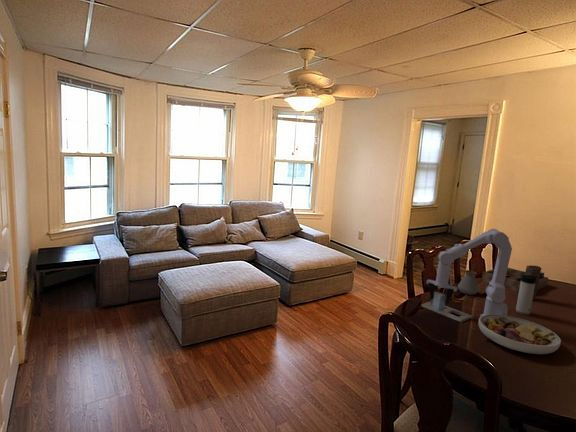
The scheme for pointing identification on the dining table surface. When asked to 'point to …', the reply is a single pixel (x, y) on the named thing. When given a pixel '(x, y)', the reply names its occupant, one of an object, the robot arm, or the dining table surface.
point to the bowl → (519, 334)
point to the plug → (439, 301)
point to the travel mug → (525, 294)
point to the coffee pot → (469, 283)
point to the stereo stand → (511, 283)
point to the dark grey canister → (534, 272)
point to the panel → (448, 312)
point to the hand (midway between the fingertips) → (439, 300)
